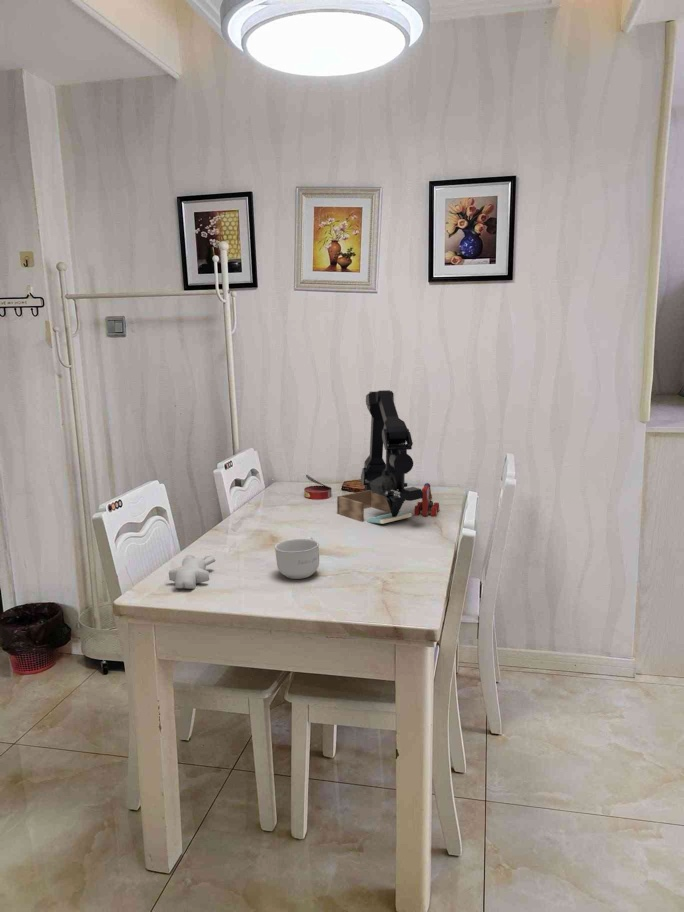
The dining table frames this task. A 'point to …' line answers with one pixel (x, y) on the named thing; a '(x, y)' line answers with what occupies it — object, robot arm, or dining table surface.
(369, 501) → the crate
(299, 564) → the teacup
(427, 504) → the toy fire truck
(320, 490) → the canned food
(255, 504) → the dining table surface
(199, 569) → the bunny figurine
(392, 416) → the robot arm
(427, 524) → the dining table surface
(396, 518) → the teal flat slab
